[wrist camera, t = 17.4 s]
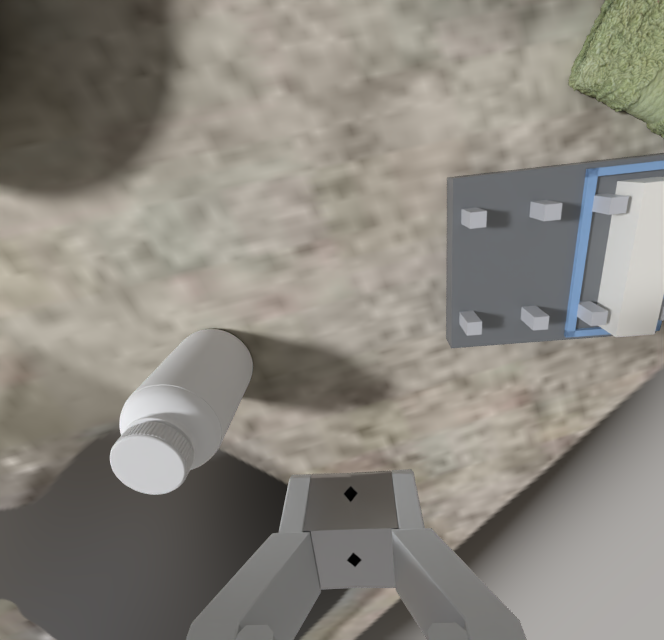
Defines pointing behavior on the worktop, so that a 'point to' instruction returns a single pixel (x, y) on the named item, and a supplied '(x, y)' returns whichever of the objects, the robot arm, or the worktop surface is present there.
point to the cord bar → (635, 260)
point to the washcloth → (625, 60)
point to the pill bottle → (181, 412)
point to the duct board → (533, 250)
